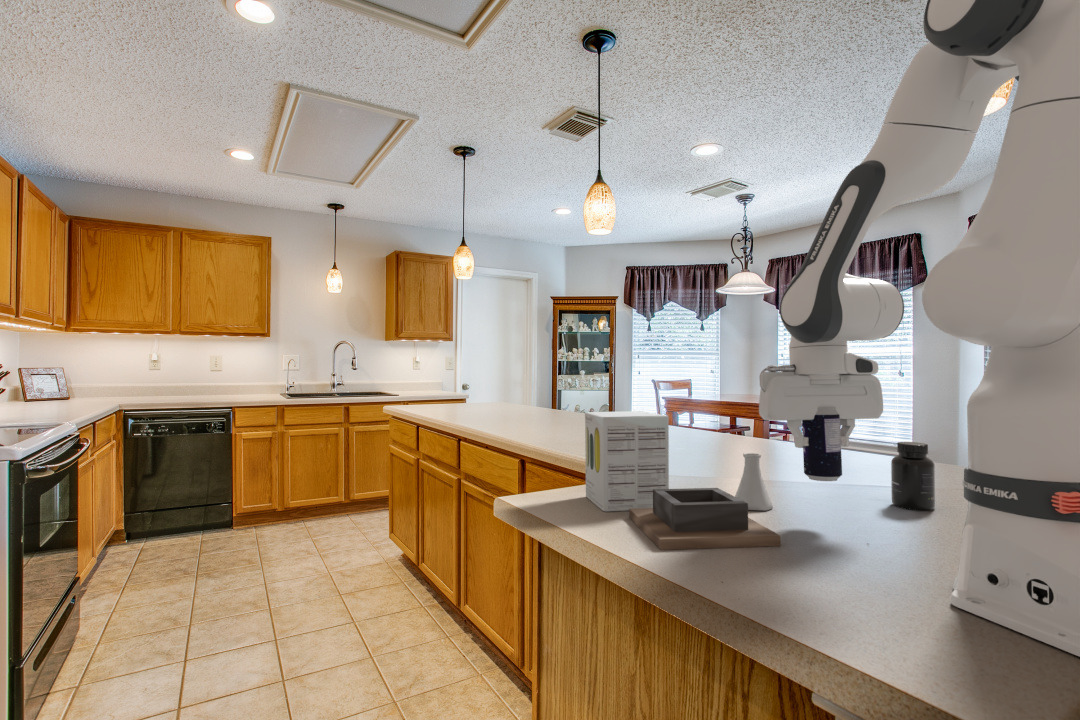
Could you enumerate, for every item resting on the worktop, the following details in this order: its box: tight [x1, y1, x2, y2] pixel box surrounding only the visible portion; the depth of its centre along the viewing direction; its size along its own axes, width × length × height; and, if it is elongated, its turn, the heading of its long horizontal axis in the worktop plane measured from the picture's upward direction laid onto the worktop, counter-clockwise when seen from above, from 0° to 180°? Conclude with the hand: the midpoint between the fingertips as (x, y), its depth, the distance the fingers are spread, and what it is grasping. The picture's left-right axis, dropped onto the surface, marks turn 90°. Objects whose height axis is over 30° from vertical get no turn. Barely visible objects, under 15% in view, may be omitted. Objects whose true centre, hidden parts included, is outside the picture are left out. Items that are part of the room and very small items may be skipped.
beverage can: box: [801, 407, 843, 482], centre depth 92 cm, size 6×6×12 cm
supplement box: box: [584, 410, 670, 512], centre depth 108 cm, size 13×13×18 cm
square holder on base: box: [628, 487, 782, 551], centre depth 89 cm, size 18×18×6 cm
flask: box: [734, 452, 774, 511], centre depth 104 cm, size 7×7×10 cm
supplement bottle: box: [890, 441, 936, 512], centre depth 104 cm, size 7×7×12 cm
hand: (821, 447), depth 92 cm, fingers closed on beverage can, 6 cm apart
